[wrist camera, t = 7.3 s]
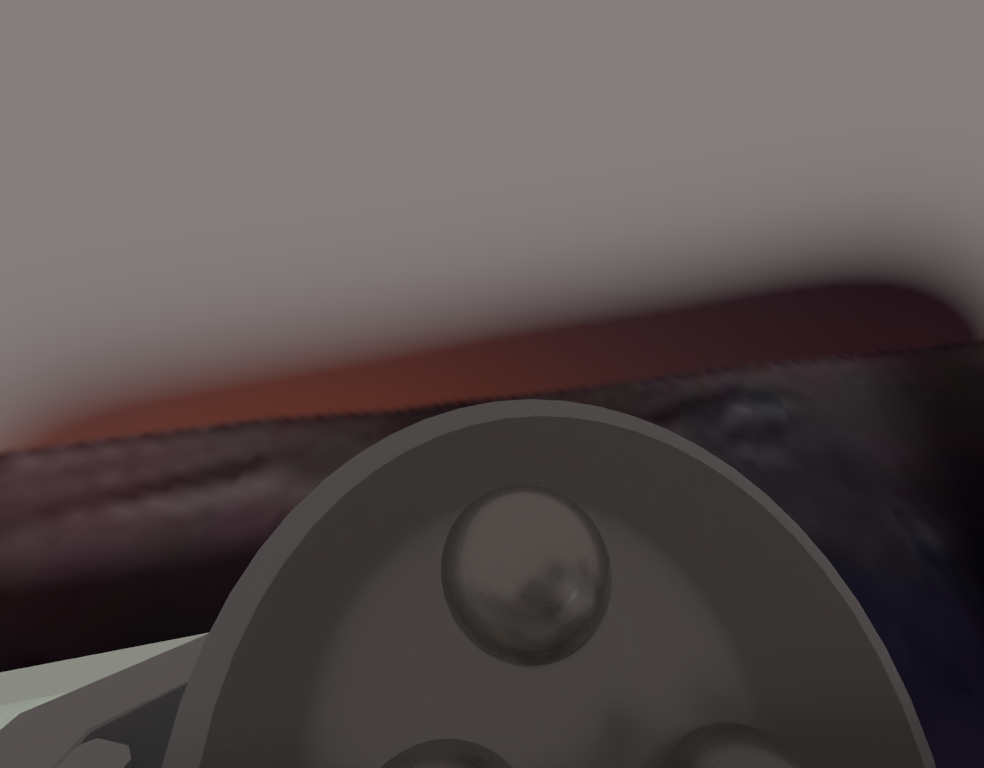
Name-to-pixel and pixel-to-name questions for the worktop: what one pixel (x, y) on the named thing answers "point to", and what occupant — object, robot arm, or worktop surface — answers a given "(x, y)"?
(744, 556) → the gray flashlight
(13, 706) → the sage bin
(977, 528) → the worktop surface
